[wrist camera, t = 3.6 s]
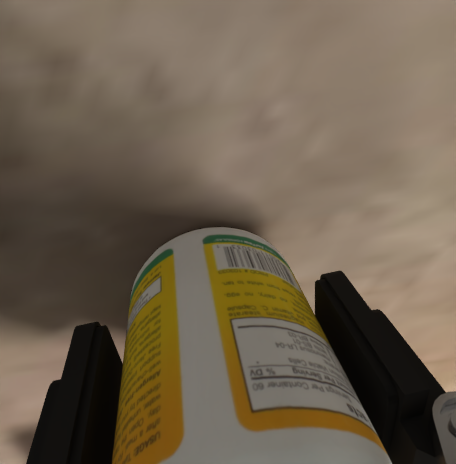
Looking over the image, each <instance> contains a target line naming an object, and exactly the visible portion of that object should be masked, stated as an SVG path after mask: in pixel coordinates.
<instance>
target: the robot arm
mask: <svg viewBox="0 0 456 464" xmlns="http://www.w3.org/2000/svg"><path fill="white" fill-rule="evenodd" d="M315 317H316V319H317V320H318V322H319V324H320V326H321V328H322V330H323V332H324V334H325V336H326V338H327V339H328V341H329V343H330V345H331V347H332V349H333V351H334V353H335V355H336V357H337V359H338V360H339V362H340V364H341V366H342V368H343V370H344V372H345V374H346V376H347V378H348V379H349V381H350V383H351V385H352V387H353V389H354V391H355V393H356V395H357V397H358V399H359V401H360V402H361V404H362V406H363V408H364V410H365V412H366V414H367V416H368V418H369V420H370V422H371V424H372V425H373V427H374V429H375V431H376V433H377V435H378V437H379V439H380V441H381V443H382V445H383V446H384V448H385V450H386V452H387V454H388V456H389V458H390V460H391V462H392V464H456V392H447V393H446V392H445V391H444V389H443V388H442V387H441V386H440V384H439V383H438V382H437V381H436V379H435V378H434V377H433V375H432V374H431V373H430V372H429V370H428V369H427V368H426V366H425V365H424V364H423V363H422V361H421V360H420V359H419V358H418V356H417V355H416V354H415V352H414V351H413V350H412V349H411V347H410V346H409V345H408V344H407V342H406V341H405V340H404V338H403V337H402V336H401V335H400V333H399V332H398V331H397V329H396V328H395V327H394V326H393V324H392V323H391V322H390V321H389V319H388V318H387V317H386V315H385V314H384V313H383V312H382V311H380V310H378V309H377V310H371V309H370V308H369V306H368V305H367V304H366V302H365V301H364V300H363V298H362V297H361V296H360V294H359V293H358V292H357V290H356V289H355V288H354V286H353V285H352V284H351V282H350V281H349V280H348V278H347V277H346V276H345V274H344V273H343V272H342V271H336V272H331V273H326V274H322V275H321V277H320V280H317V281H316V282H315ZM122 369H123V364H122V361H121V359H120V356H119V354H118V351H117V349H116V347H115V344H114V342H113V339H112V337H111V334H110V332H109V330H108V327H107V326H106V325H104V326H101V325H100V324H99V323H98V322H93V323H88V324H84V325H79V326H76V327H75V329H74V333H73V336H72V340H71V344H70V348H69V351H68V355H67V359H66V363H65V366H64V370H63V374H62V378H61V379H60V380H56V381H53V382H52V383H51V384H50V386H49V389H48V392H47V395H46V398H45V402H44V405H43V408H42V412H41V415H40V419H39V422H38V425H37V429H36V432H35V435H34V439H33V442H32V446H31V449H30V452H29V456H28V459H27V463H26V464H112V457H113V448H114V439H115V430H116V422H117V413H118V404H119V396H120V387H121V378H122Z"/></svg>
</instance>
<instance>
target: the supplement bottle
mask: <svg viewBox="0 0 456 464" xmlns="http://www.w3.org/2000/svg"><path fill="white" fill-rule="evenodd" d="M112 464H392V462H391V460H390V458H389V456H388V454H387V452H386V450H385V448H384V446H383V445H382V443H381V441H380V439H379V437H378V435H377V433H376V431H375V429H374V427H373V425H372V424H371V422H370V420H369V418H368V416H367V414H366V412H365V410H364V408H363V406H362V404H361V402H360V401H359V399H358V397H357V395H356V393H355V391H354V389H353V387H352V385H351V383H350V381H349V379H348V378H347V376H346V374H345V372H344V370H343V368H342V366H341V364H340V362H339V360H338V359H337V357H336V355H335V353H334V351H333V349H332V347H331V345H330V343H329V341H328V339H327V338H326V336H325V334H324V332H323V330H322V328H321V326H320V324H319V322H318V320H317V319H316V317H315V315H314V313H313V311H312V309H311V307H310V305H309V303H308V301H307V299H306V298H305V296H304V294H303V292H302V290H301V288H300V286H299V284H298V282H297V280H296V278H295V276H294V274H293V273H292V271H291V269H290V267H289V266H288V264H287V262H286V261H285V259H284V258H283V256H282V255H281V254H280V252H279V251H278V250H277V249H276V248H275V247H274V246H273V245H271V244H270V243H269V242H267V241H266V240H264V239H263V238H261V237H259V236H257V235H255V234H253V233H250V232H248V231H244V230H240V229H235V228H227V227H211V228H203V229H198V230H194V231H191V232H187V233H185V234H182V235H180V236H178V237H176V238H174V239H172V240H170V241H169V242H167V243H165V244H164V245H162V246H161V247H159V248H158V249H157V250H156V251H155V252H154V253H153V254H152V255H151V257H150V258H149V259H148V260H147V261H146V262H145V264H144V265H143V267H142V268H141V270H140V271H139V273H138V275H137V277H136V279H135V282H134V284H133V288H132V292H131V297H130V306H129V316H128V325H127V331H126V341H125V351H124V359H123V369H122V378H121V387H120V396H119V404H118V413H117V422H116V430H115V439H114V448H113V457H112Z"/></svg>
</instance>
